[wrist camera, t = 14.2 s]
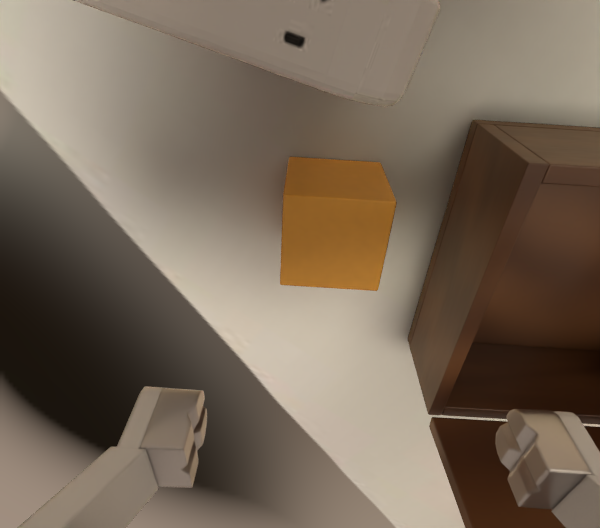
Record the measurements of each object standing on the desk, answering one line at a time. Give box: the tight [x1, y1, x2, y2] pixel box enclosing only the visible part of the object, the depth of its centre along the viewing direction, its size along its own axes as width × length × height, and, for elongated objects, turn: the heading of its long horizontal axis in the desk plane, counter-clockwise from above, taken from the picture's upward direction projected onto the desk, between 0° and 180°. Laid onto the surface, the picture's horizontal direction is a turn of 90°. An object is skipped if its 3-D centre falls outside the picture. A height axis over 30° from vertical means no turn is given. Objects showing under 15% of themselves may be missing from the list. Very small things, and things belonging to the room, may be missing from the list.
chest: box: [408, 120, 600, 424], centre depth 22 cm, size 16×15×6 cm
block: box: [280, 157, 397, 291], centre depth 20 cm, size 5×5×5 cm
